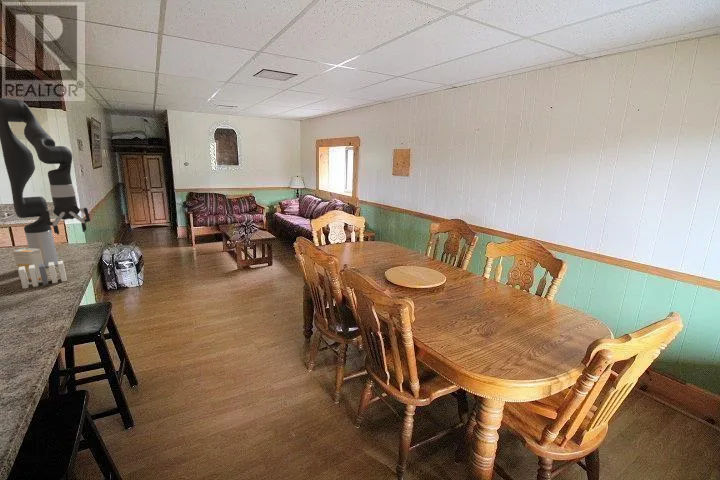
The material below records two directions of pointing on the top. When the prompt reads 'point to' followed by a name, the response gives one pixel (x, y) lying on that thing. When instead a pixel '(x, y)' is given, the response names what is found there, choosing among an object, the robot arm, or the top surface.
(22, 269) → the ivory domino
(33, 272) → the ivory domino
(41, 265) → the charcoal domino
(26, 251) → the supplement box
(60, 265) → the ivory domino
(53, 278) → the ivory domino
